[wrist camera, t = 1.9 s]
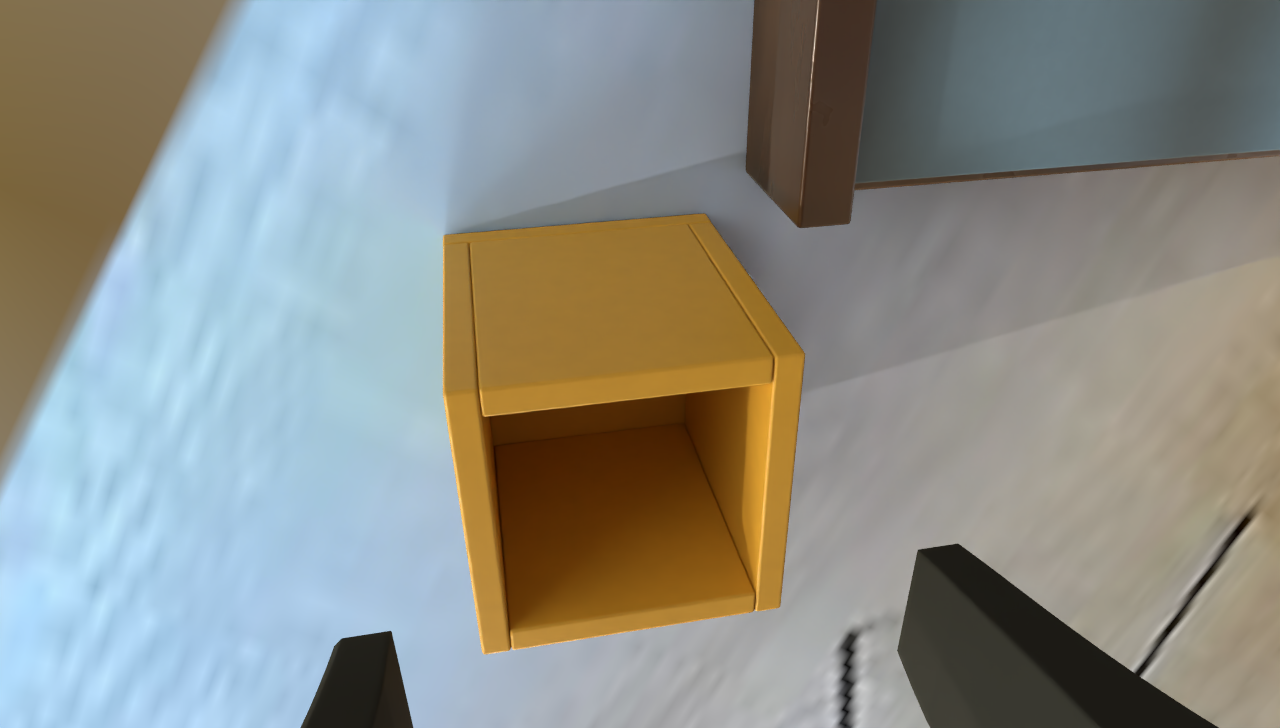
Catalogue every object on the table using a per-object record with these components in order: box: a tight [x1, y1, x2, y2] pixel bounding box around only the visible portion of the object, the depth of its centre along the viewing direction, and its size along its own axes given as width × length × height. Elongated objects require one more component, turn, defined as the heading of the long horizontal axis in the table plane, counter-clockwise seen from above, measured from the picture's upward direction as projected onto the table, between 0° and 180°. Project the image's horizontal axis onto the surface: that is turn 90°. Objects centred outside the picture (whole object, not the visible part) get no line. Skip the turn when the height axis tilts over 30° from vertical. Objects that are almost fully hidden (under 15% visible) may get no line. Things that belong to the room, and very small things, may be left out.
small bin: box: [443, 213, 805, 654], centre depth 17 cm, size 5×5×6 cm
